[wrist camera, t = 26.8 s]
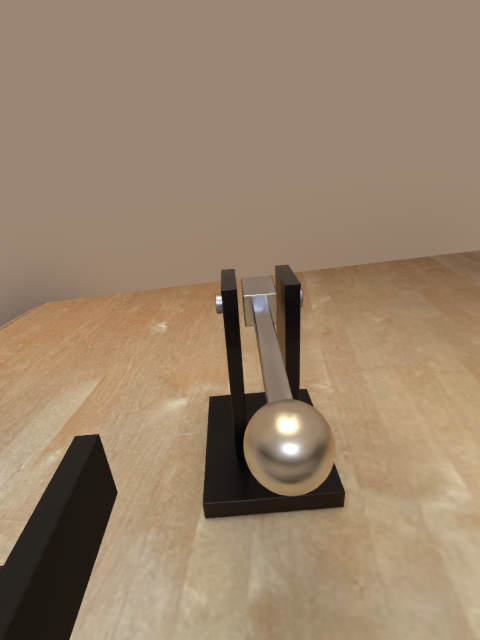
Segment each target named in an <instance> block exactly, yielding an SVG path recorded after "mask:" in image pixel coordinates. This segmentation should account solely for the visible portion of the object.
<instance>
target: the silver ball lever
mask: <svg viewBox="0 0 480 640" xmlns="http://www.w3.org/2000/svg"><path fill="white" fill-rule="evenodd" d="M241 284H242V300H243V311H244V320H245V326H246V327H247V326H254V327H255V333H256V339H257V345H258V351H259V358H260V364H261V370H262V376H263V382H264V389H265V395H266V401H267V404H266V405H264V406H263V407H262V408H260V409H259V410H258V411H257V412H256V413H255V414H254V415H253V417H252V418H251V420H250V421H249V423H248V426H247V428H246V431H245V435H244V455H245V459H246V462H247V465H248V467H249V469H250V471H251V473H252V474H253V476H254V477H255V478H256V479H257V481H258V482H259V483H261V484H262V485H263V486H264V487H266V488H267V489H269V490H270V491H272V492H275V493H277V494H280V495H285V496H298V495H303V494H306V493H308V492H311V491H313V490H314V489H316V488H317V487H318V486H320V485H321V484H322V483H323V482H324V480H325V479H326V478H327V476H328V475H329V473H330V471H331V469H332V466H333V463H334V459H335V441H334V437H333V433H332V431H331V428H330V426H329V424H328V423H327V421H326V420H325V418H324V417H323V416H322V415H321V414H320V413H319V412H318V411H317V410H316V409H315V408H314V407H312V406H310V405H309V404H307V403H304V402H302V401H299V400H294V399H293V397H292V394H291V390H290V386H289V382H288V378H287V374H286V370H285V366H284V362H283V358H282V354H281V350H280V346H279V342H278V338H277V334H276V330H275V327H274V324H277V292H276V289H275V285H274V282H273V279H272V276H262V277H251V278H250V277H249V278H241Z"/></svg>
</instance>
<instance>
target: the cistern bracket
mask: <svg viewBox="0 0 480 640" xmlns="http://www.w3.org/2000/svg"><path fill="white" fill-rule="evenodd" d="M275 273H276V274H275V277H276V292H277V324H276V325H277V338H278V342H279V346H280V350H281V354H282V358H283V362H284V366H285V370H286V374H287V378H288V382H289V386H290V390H291V394H292V397H293V399H294V400H299V401H302V402H304V403H307V404H309V405H310V406H312V407H313V404H312V402H311V399H310V396H309V394H308V391H307V389H299V385H300V307H302V306H303V293H302V289H301V284H300V282H299V281H298V279H297V278H296V276H295V274H294V273H293V271H292V270H291V268H290V267H289V265H280V266H275ZM215 302H216V311H217V314H221V313H223V318H224V329H225V340H226V350H227V361H228V371H229V382H230V392H231V395H224V396H211V397H210V398H209V414H208V430H207V446H206V463H205V479H204V495H203V508H204V514H205V518H213V517H225V516H236V515H248V514H260V513H272V512H284V511H295V510H307V509H319V508H331V507H343V506H344V498H345V491H344V488H343V485H342V483H341V480H340V477H339V475H338V472H337V469H336V466H335V464H334V463H333V466H332V469H331V471H330V473H329V475H328V476H327V478H326V479H325V480H324V482H323V483H322V484H321V485H320V486H318V487H317V488H316V489H314V490H313V491H311V492H308V493H306V494H303V495H298V496H285V495H280V494H277V493H275V492H272V491H270V490H269V489H267V488H266V487H264V486H263V485H262V484H261V483H259V482H258V481H257V479H256V478H255V477H254V476H253V474H252V473H251V471H250V469H249V467H248V465H247V462H246V459H245V455H244V435H245V431H246V428H247V426H248V423H249V421H250V420H251V418H252V417H253V415H254V414H255V413H256V412H257V411H258V410H259V409H260V408H262V407H263V406H264V405H266V404H267V401H266V395H265V392H261V393H249V394H244V380H243V366H242V353H241V339H240V325H239V312H238V298H237V286H236V277H235V269H227V270H222V271H221V294H215Z"/></svg>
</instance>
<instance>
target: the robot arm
mask: <svg viewBox="0 0 480 640" xmlns="http://www.w3.org/2000/svg"><path fill="white" fill-rule="evenodd" d="M117 493H118V492H117V489H116V486H115V483H114V480H113V477H112V473H111V470H110V467H109V464H108V461H107V458H106V455H105V452H104V448H103V445H102V442H101V439H100V436H99V434H95V435H83V436H75V437H74V439H73V441H72V443H71V445H70V447H69V448H68V450H67V452H66V454H65V456H64V457H63V459H62V461H61V463H60V465H59V466H58V468H57V470H56V472H55V474H54V475H53V477H52V479H51V481H50V483H49V484H48V486H47V488H46V490H45V492H44V494H43V495H42V497H41V499H40V501H39V503H38V504H37V506H36V508H35V510H34V512H33V513H32V515H31V517H30V519H29V521H28V522H27V524H26V526H25V528H24V530H23V531H22V533H21V535H20V537H19V539H18V541H17V542H16V544H15V546H14V548H13V550H12V551H11V553H10V555H9V557H8V559H7V560H6V562H5V564H4V566H0V640H69V639H70V636H71V633H72V630H73V627H74V624H75V621H76V618H77V615H78V612H79V609H80V606H81V603H82V600H83V597H84V594H85V591H86V588H87V585H88V581H89V578H90V575H91V572H92V569H93V566H94V563H95V560H96V557H97V554H98V551H99V548H100V545H101V542H102V539H103V536H104V533H105V530H106V527H107V524H108V521H109V518H110V514H111V511H112V508H113V505H114V502H115V499H116V496H117Z"/></svg>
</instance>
